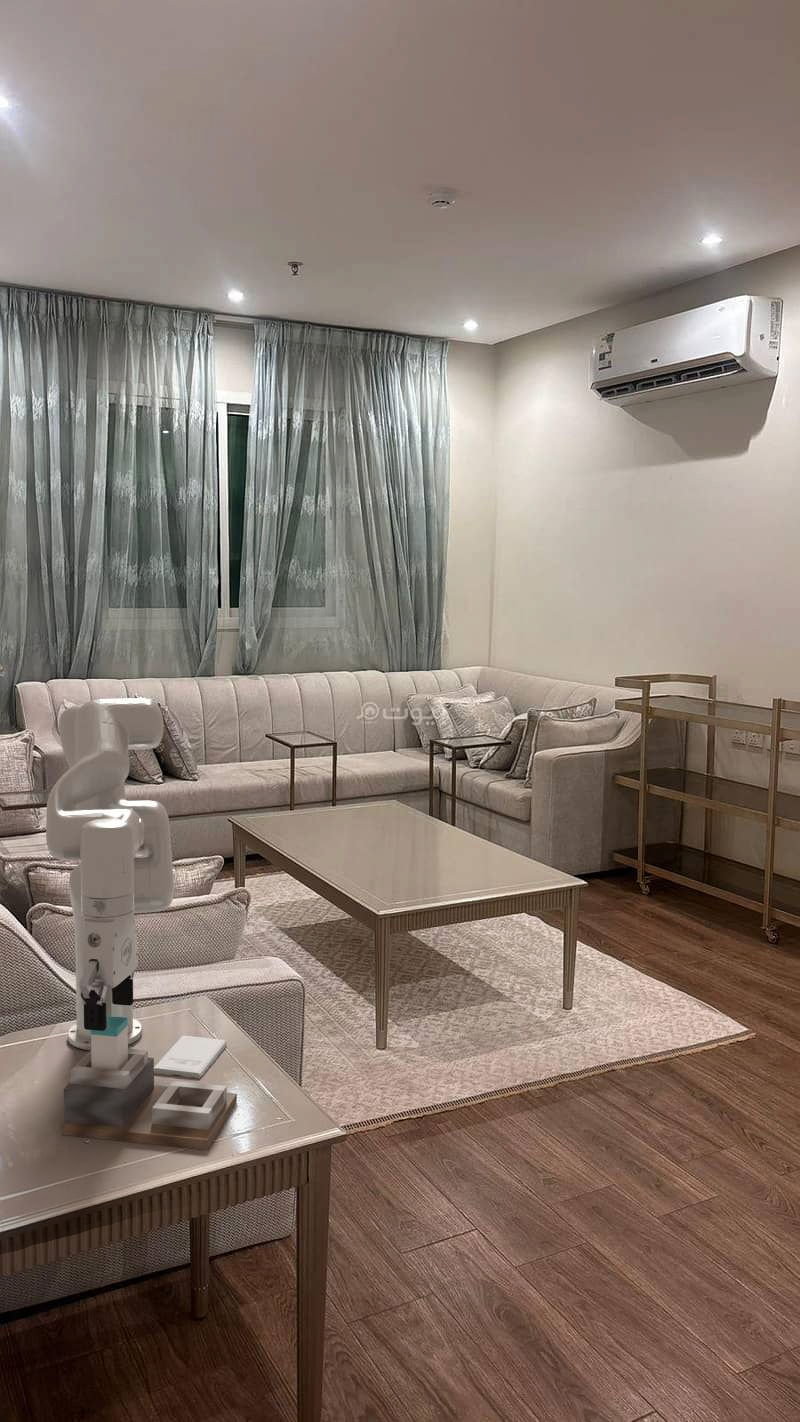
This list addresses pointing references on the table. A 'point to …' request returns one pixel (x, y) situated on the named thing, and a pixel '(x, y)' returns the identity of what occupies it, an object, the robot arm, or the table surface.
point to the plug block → (110, 1044)
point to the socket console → (142, 1105)
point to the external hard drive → (190, 1056)
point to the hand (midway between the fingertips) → (109, 1016)
